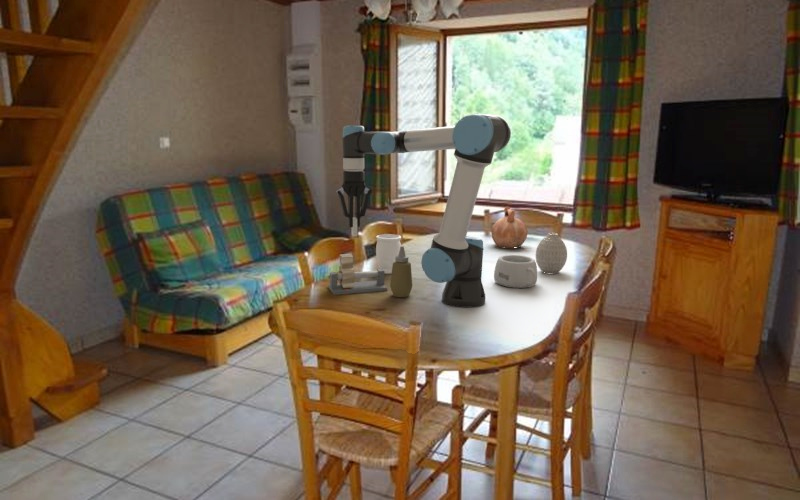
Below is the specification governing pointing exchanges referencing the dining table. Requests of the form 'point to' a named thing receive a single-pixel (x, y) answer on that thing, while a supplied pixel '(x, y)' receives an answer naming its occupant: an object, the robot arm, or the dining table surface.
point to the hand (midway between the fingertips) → (354, 235)
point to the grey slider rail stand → (358, 283)
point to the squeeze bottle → (401, 275)
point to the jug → (509, 230)
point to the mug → (515, 271)
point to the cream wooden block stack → (346, 270)
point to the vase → (551, 254)
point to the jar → (387, 251)
